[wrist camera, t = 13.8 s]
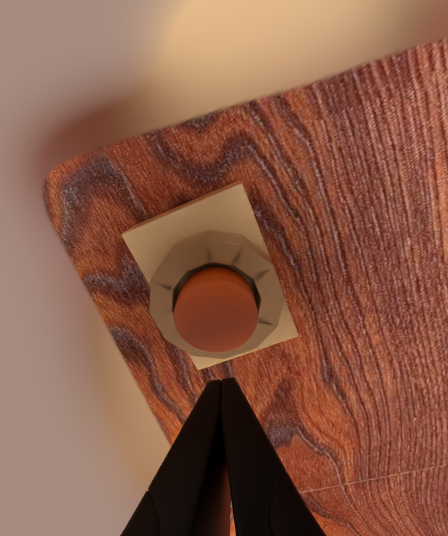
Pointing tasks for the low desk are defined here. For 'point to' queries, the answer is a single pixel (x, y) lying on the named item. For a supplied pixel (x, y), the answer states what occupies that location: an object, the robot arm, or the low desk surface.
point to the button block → (210, 265)
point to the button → (216, 310)
